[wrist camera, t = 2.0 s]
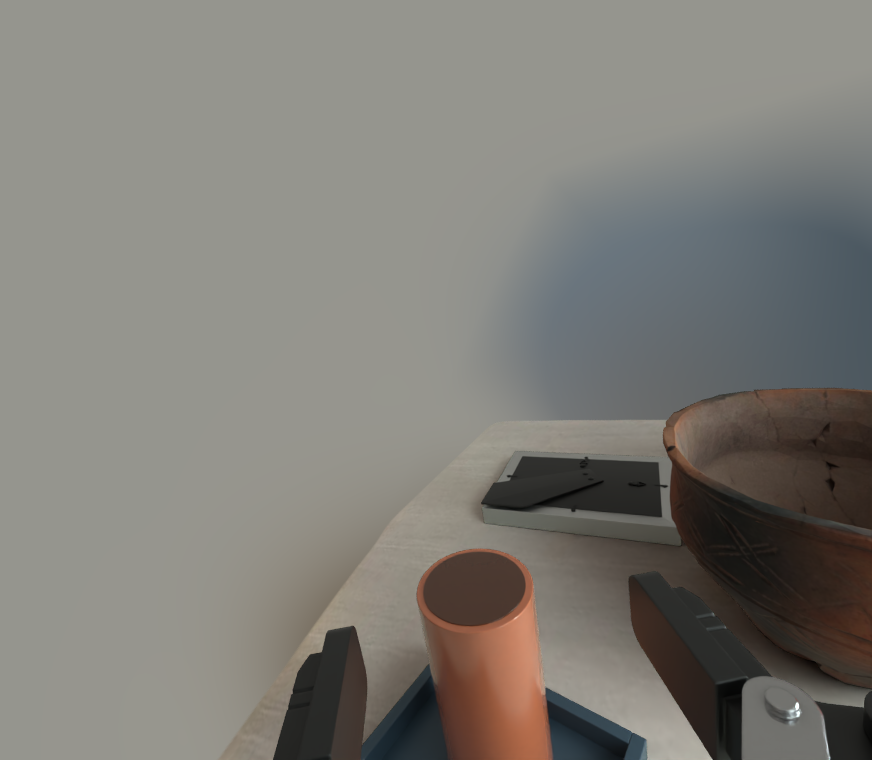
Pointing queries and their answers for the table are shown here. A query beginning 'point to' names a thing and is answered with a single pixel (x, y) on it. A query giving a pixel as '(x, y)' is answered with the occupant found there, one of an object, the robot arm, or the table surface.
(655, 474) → the picture frame
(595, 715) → the tray
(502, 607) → the tumbler
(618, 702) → the table surface
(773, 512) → the bowl
